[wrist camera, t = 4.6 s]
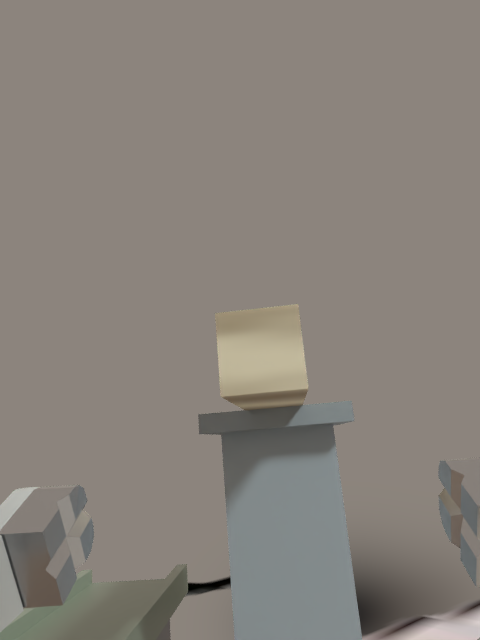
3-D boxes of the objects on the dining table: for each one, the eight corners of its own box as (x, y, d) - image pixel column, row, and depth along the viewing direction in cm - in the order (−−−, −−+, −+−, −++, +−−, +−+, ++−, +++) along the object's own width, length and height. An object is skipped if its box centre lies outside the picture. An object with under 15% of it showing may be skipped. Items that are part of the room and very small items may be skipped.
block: (308, 388, 14) (298, 304, 15) (220, 396, 15) (215, 313, 15) (298, 417, 35) (294, 381, 36) (262, 420, 36) (259, 384, 36)
